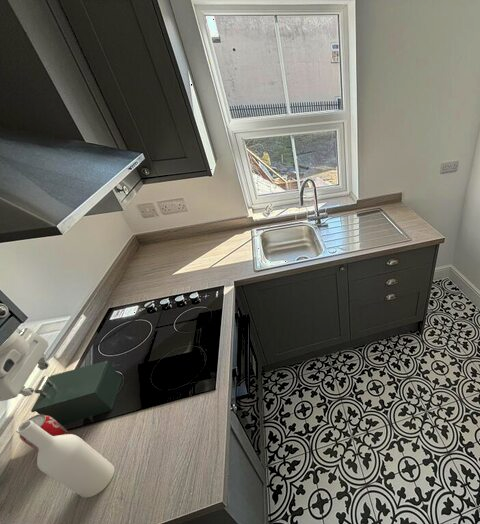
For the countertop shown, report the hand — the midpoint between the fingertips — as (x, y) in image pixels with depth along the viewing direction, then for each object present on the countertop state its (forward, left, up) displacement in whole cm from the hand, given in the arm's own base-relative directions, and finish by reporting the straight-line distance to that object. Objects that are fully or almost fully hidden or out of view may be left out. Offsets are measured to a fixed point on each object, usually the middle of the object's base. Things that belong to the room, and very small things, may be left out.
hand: (38, 380), depth 89 cm
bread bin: (+6, 0, -16) cm, 17 cm away
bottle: (+16, -28, -16) cm, 36 cm away
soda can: (+2, -13, -16) cm, 21 cm away
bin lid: (+6, 0, -6) cm, 9 cm away
